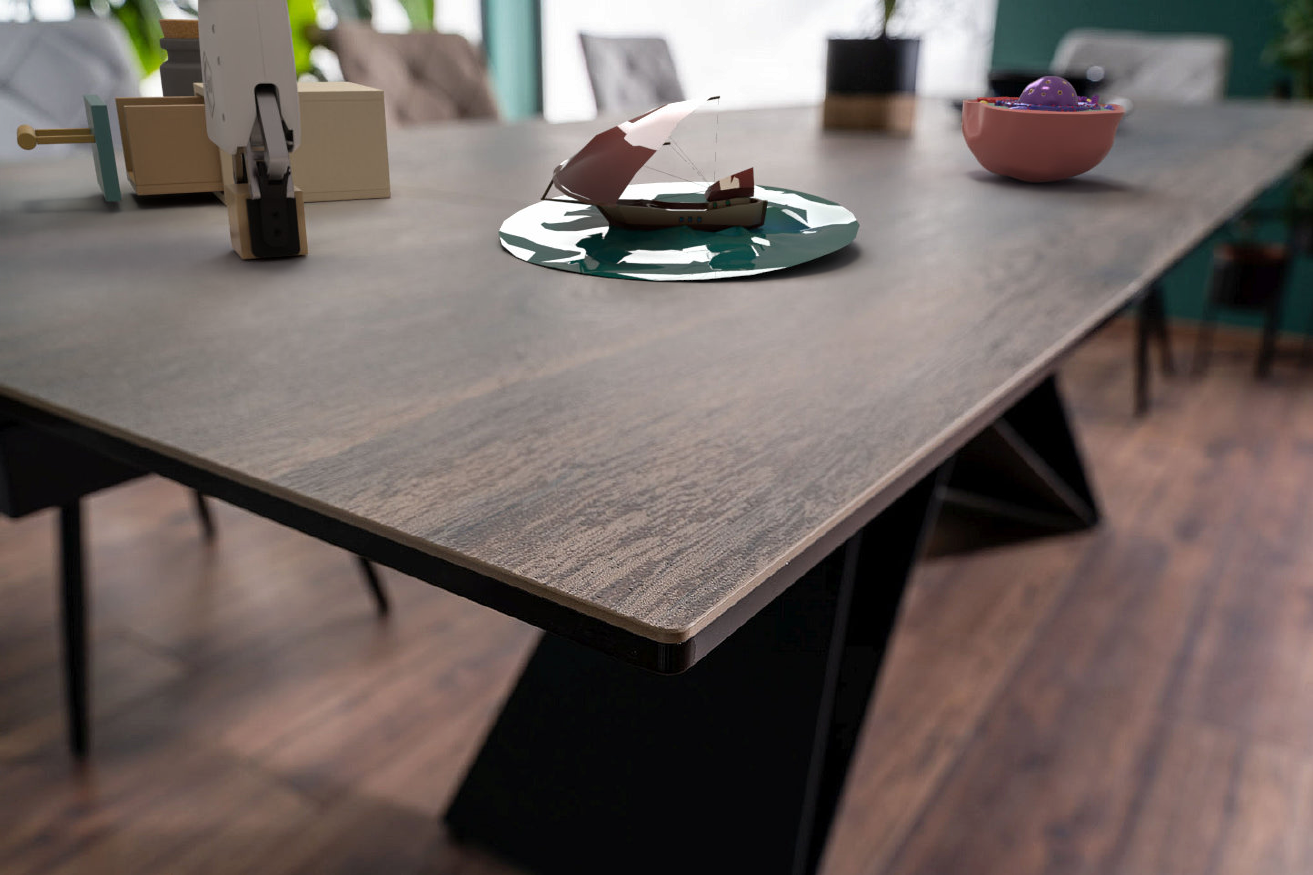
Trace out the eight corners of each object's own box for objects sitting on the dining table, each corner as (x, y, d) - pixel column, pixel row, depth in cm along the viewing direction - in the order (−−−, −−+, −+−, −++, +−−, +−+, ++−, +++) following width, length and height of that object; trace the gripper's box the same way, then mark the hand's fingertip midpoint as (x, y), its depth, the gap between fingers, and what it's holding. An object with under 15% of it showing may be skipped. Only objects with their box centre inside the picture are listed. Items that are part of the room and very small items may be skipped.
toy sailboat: (504, 209, 97) (493, 79, 92) (811, 193, 99) (815, 66, 94) (494, 312, 72) (478, 142, 67) (905, 288, 74) (918, 121, 69)
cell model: (1096, 172, 130) (1113, 73, 126) (1124, 197, 112) (1144, 82, 108) (952, 164, 134) (963, 68, 129) (956, 187, 115) (970, 76, 111)
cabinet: (227, 206, 95) (213, 92, 91) (206, 186, 105) (192, 82, 101) (390, 197, 101) (383, 90, 98) (356, 178, 112) (348, 81, 108)
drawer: (28, 206, 88) (9, 106, 85) (27, 186, 97) (10, 95, 94) (272, 192, 97) (263, 102, 94) (250, 175, 106) (240, 92, 103)
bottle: (232, 175, 112) (214, 20, 107) (171, 176, 110) (149, 19, 105) (233, 167, 117) (216, 19, 112) (175, 168, 116) (154, 18, 110)
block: (242, 259, 75) (234, 193, 73) (231, 247, 79) (224, 184, 77) (308, 254, 77) (302, 190, 75) (295, 242, 81) (289, 181, 79)
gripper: (164, -28, 76) (197, 230, 83) (197, -32, 63) (234, 278, 69) (274, -24, 80) (297, 224, 86) (329, -26, 66) (351, 268, 73)
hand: (269, 245), depth 78 cm, fingers closed on block, 4 cm apart
